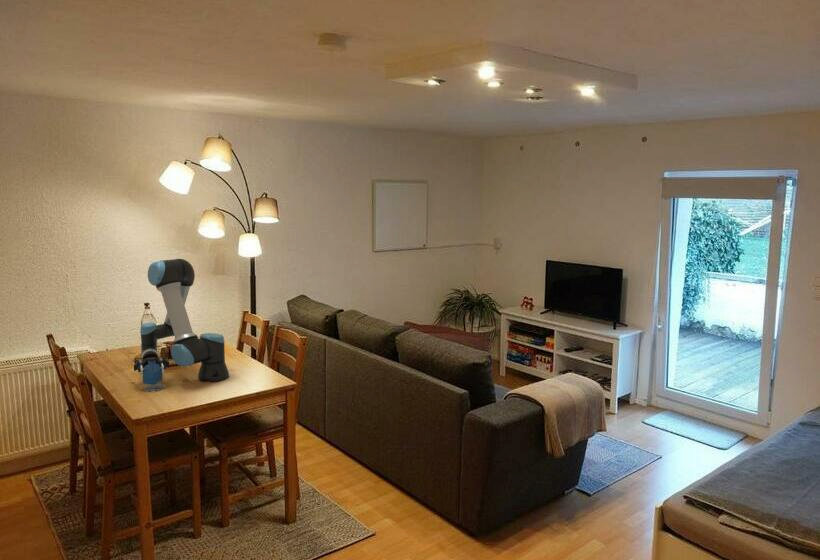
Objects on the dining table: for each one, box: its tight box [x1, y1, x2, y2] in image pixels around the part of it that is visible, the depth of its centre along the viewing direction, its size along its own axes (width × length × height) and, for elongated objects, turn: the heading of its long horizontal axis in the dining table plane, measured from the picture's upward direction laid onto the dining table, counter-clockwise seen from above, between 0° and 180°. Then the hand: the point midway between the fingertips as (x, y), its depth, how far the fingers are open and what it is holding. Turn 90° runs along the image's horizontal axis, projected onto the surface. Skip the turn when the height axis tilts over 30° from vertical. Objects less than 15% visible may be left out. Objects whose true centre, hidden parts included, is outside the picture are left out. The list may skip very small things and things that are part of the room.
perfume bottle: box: [142, 357, 163, 385], centre depth 287 cm, size 6×6×12 cm
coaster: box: [141, 383, 165, 393], centre depth 288 cm, size 10×10×1 cm
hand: (152, 370), depth 283 cm, fingers closed on perfume bottle, 9 cm apart
